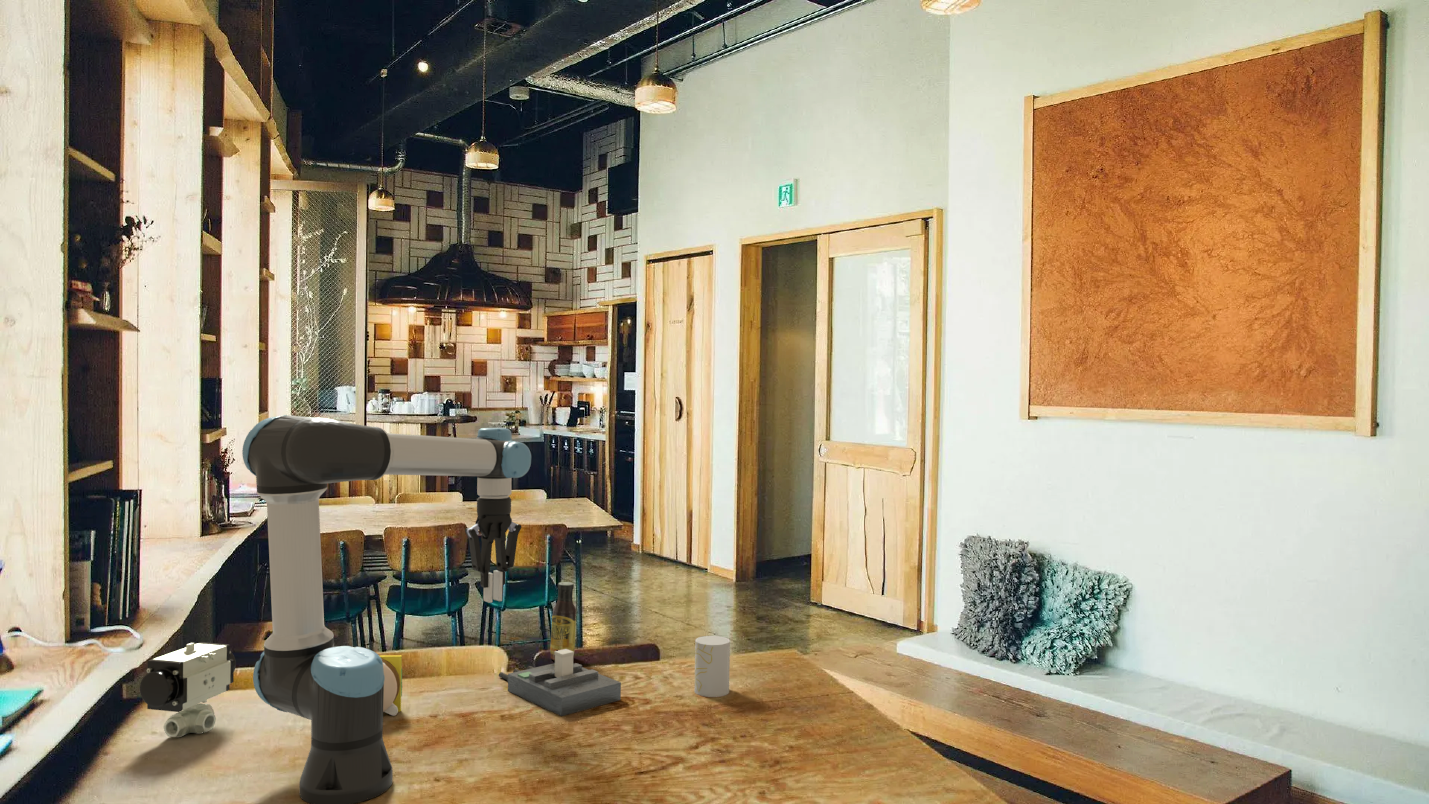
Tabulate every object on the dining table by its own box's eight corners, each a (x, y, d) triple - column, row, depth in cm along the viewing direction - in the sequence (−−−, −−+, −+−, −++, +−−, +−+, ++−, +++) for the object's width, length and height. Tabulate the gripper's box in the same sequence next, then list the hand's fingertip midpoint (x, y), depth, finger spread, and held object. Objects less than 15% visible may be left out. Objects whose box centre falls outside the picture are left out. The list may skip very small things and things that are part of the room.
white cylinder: (689, 688, 217) (689, 637, 216) (720, 684, 220) (720, 634, 220) (703, 698, 209) (703, 646, 209) (734, 694, 213) (735, 643, 213)
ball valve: (175, 750, 175) (176, 658, 174) (137, 746, 176) (138, 654, 176) (242, 718, 192) (243, 634, 192) (207, 714, 194) (207, 631, 194)
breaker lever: (573, 676, 210) (574, 651, 210) (561, 679, 208) (562, 654, 208) (565, 673, 212) (566, 648, 212) (554, 676, 210) (554, 651, 210)
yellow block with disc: (334, 721, 192) (335, 664, 191) (347, 707, 200) (348, 652, 200) (393, 720, 192) (394, 663, 192) (403, 706, 201) (404, 652, 201)
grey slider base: (620, 700, 207) (620, 677, 207) (561, 716, 196) (561, 692, 196) (542, 667, 231) (543, 647, 231) (486, 680, 220) (486, 659, 220)
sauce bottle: (545, 661, 236) (547, 584, 236) (556, 654, 242) (558, 579, 242) (568, 663, 234) (570, 586, 234) (579, 657, 240) (580, 581, 240)
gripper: (514, 492, 213) (512, 593, 214) (455, 497, 203) (454, 602, 203) (531, 495, 208) (530, 598, 208) (472, 500, 198) (471, 608, 198)
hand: (492, 600), depth 206 cm, fingers open, 2 cm apart
